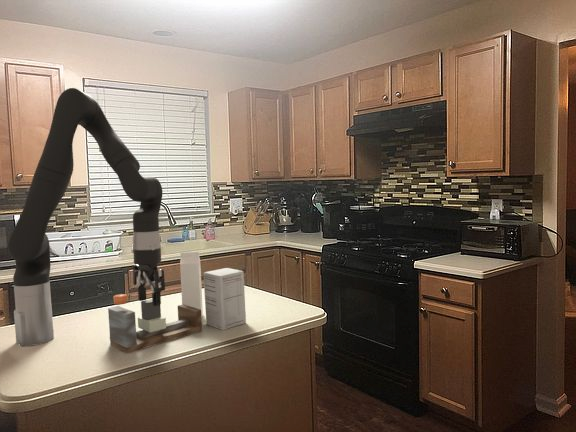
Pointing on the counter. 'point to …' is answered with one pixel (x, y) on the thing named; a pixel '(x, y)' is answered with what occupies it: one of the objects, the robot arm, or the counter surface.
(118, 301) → the button
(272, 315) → the counter surface
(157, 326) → the carriage
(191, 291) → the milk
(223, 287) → the supplement box
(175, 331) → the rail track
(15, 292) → the robot arm
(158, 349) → the counter surface
